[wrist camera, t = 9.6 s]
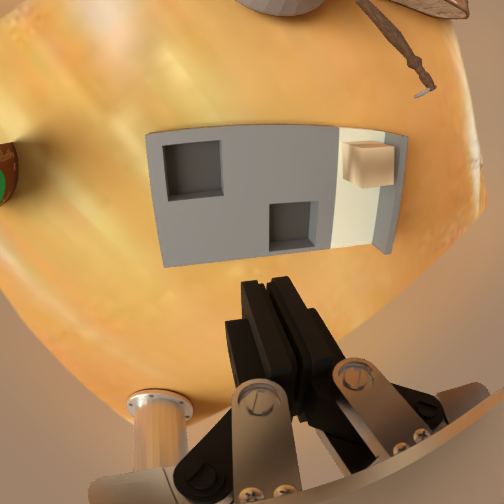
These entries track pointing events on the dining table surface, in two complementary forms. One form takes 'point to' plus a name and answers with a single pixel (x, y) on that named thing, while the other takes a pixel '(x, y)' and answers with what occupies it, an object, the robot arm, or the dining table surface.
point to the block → (368, 163)
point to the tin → (439, 8)
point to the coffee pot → (295, 3)
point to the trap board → (266, 192)
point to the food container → (7, 171)
